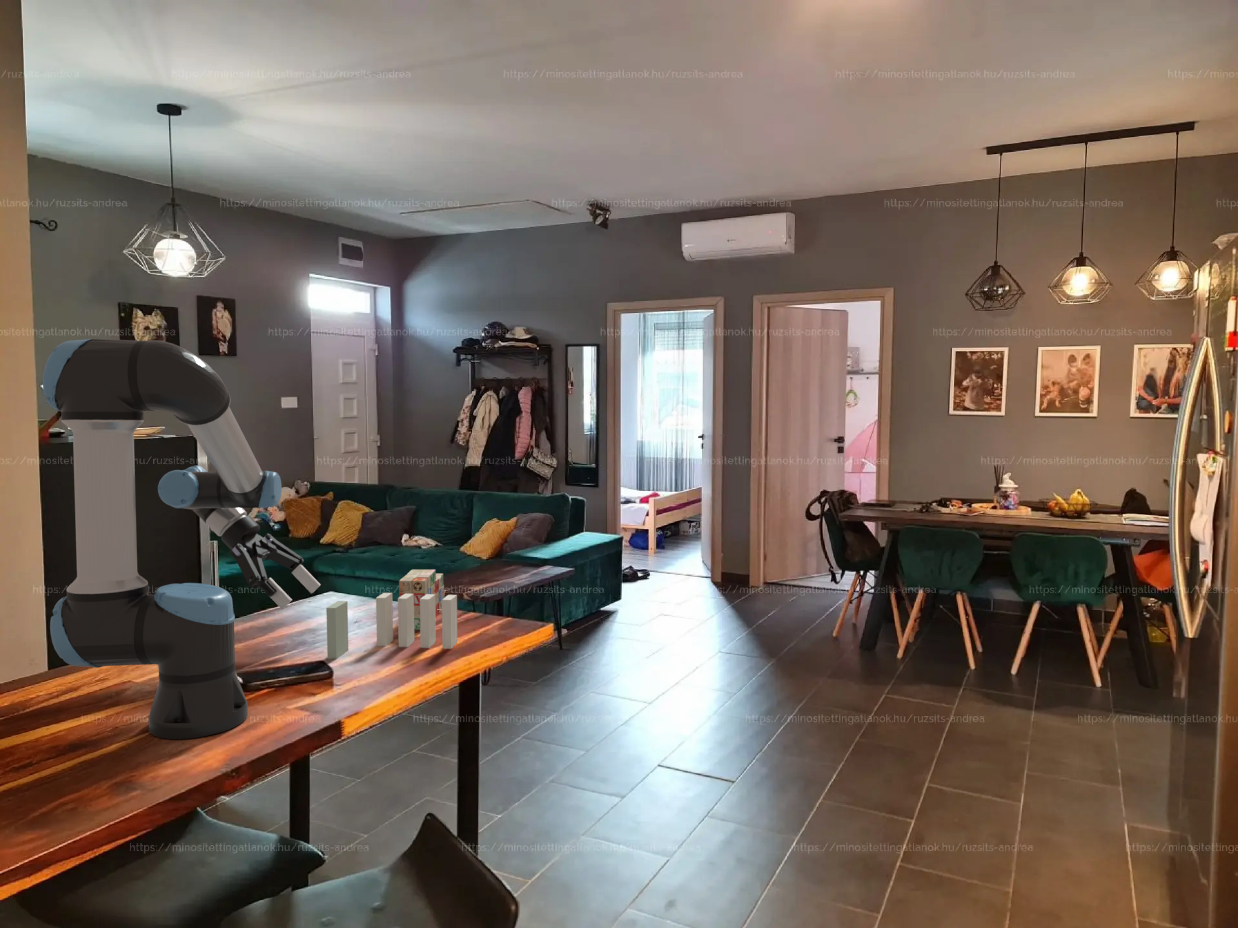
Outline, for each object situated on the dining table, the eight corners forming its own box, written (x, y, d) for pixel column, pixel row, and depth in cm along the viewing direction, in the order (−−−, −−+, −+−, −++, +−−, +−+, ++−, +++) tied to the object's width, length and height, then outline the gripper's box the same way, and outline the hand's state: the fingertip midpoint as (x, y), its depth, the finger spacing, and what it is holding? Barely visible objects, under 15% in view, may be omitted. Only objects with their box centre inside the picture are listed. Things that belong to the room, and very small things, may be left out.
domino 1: (376, 646, 186) (376, 597, 185) (384, 640, 191) (383, 592, 190) (385, 646, 186) (384, 597, 185) (393, 640, 191) (392, 593, 190)
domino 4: (442, 648, 185) (441, 599, 184) (448, 642, 189) (448, 594, 189) (451, 648, 185) (450, 599, 184) (457, 642, 189) (456, 594, 188)
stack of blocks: (421, 607, 221) (420, 561, 220) (444, 607, 220) (444, 561, 219) (399, 630, 199) (398, 579, 198) (425, 630, 199) (425, 579, 198)
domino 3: (420, 647, 185) (419, 598, 184) (427, 641, 190) (426, 594, 189) (429, 647, 185) (428, 599, 184) (435, 641, 190) (435, 594, 189)
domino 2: (398, 646, 186) (397, 598, 185) (405, 640, 190) (405, 593, 189) (407, 647, 186) (406, 598, 185) (414, 641, 190) (413, 593, 189)
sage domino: (327, 658, 177) (326, 607, 176) (339, 650, 183) (338, 600, 182) (336, 658, 177) (335, 608, 176) (348, 650, 183) (347, 601, 182)
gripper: (252, 528, 194) (316, 594, 194) (188, 548, 169) (261, 623, 169) (274, 506, 193) (338, 572, 193) (212, 523, 168) (286, 599, 168)
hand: (302, 596), depth 181 cm, fingers open, 13 cm apart
